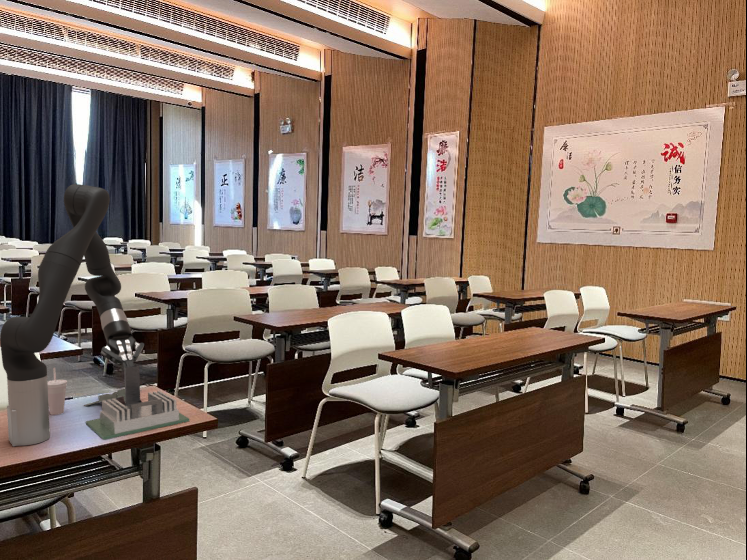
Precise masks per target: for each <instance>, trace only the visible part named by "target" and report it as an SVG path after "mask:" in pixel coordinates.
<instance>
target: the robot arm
mask: <svg viewBox="0 0 747 560" xmlns="http://www.w3.org/2000/svg"><path fill="white" fill-rule="evenodd" d="M63 203H64V209H65V211H66V213H67V216H68V219H69V221H70V223H71V225H72V227H73V228H72V229H70V230H68V232H67V233H65V234H63V235H62V236H61V237H59V238H58V239H56V240H55V241H54V242H53V243H52V244H50V245H49V247H48V248H47V249H46V252H45V254H44V255H43V258H42V260H41V262H40V264H39V268H38V271H37V279H38V280H37V281H38V289H39V290H38V291H39V296H38V300H37V303H36V305H35V308H34V309H33V312H32V313H31V315H30V316H28V317H27V316H13V317H10V318H9V319H7V320H6V321H5V322H4V323H3V325H2V326H1V330H0V352H1V363H2V367H3V370H4V371H5V373H6V379H7V380H6V381H7V383H6V385H7V400H8V404H7V405H6V411H7V412H6V413H7V429H8V430H7V433H8V434H7V435H8V441H10V442H9V443H10V444H12V445H11V446H12V447H17V446H18V447H19V446H30V445H36V444H39V443H43V442H45V441H47V440H49V439H50V437H51V428H50V427H51V425H50V411H49V404H48V368H47V365H46V363H44V362H42V361H41V360H40V358H38V357H37V355H36V354H37V353H41V352H42V351H44V350H45V349H47V348H48V346H49V345H50V343H51V342H52V339H53V337H54V333H55V331H56V328H57V325H58V321H59V319H60V315H61V312H62V310H63V306H64V304H65V301H66V299H67V296H68V294H69V292H70V288H71V286H72V284H73V283H74V280H75V278H76V276H77V275H78V271H79V269H80V267H81V264H82V261H83V259H84V261H85V266H86V270H87V272H88V273H89V275H92V276H96V277H91V278H88V279H87V280H86V281H85V284H84V290H85V293H86V295H87V296H88V297H89V300H91V302H93V304H94V305H95V307H96V309H97V312H98V314H99V318H100V323H101V329H102V331H103V334H104V338H105V341H106V346H103V347H102V348H101V352H100V356H103V358H106V359H107V360H109V361H110V362H112V363H113V364H115V365H118V364H119V365H120V364H121V367H122V370H123V371H124V367H129V366H135V364H134V363H135V362H136V361H137V360H138V358H139V357H140V355H141V353H142V351H143V349H144V346H145V343H144V342H140V343H139V342H137V341H136V339H135V338H134V337H133V332H132V330H131V327H130V324H129V321H128V317H127V315H126V314H125V311H124V309H123V306H122V303H121V300H120V299H119V298H118V297H117V296H116V295H118V294H119V293H120V292H121V291H122V282H121V281H120V278H119V277H118V276H117V274H116V273H115V271H114V269H113V266H112V263H111V258H110V253H109V250H108V249H109V248H108V247H107V244H106V243H105V241H104V240H103V238H102V237H101V236H100V235H99V233H97V230H98V229H99V227H100V225H101V224H102V222H103V221H104V218H105V216H106V214H107V212H108V209H109V206H110V194H109V192H108V191H107V190H106V189H105V188H102V187H98V186H92V185H86V184H85V185H84V184H78V183H73V184H71V185H69V186H67V188H66V189H65V192H64V194H63ZM134 349H135V352H134V354H133V353H132V351H133V350H134Z"/></svg>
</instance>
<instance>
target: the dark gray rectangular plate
mask: <svg viewBox="0 0 747 560" xmlns="http://www.w3.org/2000/svg"><path fill="white" fill-rule="evenodd" d="M123 372H124V376H123V377H124V389H125V401H124V405H125V406H127V405H131V404H136V403H141V402H142V400H141V391H140V390H141V387H140V386H141V385H140V384H141V383H140V382H141V379H140V365H138V364H137V365H134V366H129V367H124V370H123Z"/></svg>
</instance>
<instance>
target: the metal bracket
mask: <svg viewBox="0 0 747 560" xmlns="http://www.w3.org/2000/svg"><path fill="white" fill-rule="evenodd" d="M140 392H142V389H140ZM122 397H123V401H124V402H125V388H123V389H119V390H118V389H117V391H114V392H112V393H104V394H101V395H98V398H97V399H98V400H95V401H93V402H90V403H87V404H84V405H83V407H87V406H90V405H94V404H98V403H102V401H103V400H105V401H106V402H107V400H109V399H110V400H111V401H112V399H114V398H115V399H116V400H117V399H119V398H122Z"/></svg>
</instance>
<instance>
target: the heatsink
mask: <svg viewBox="0 0 747 560" xmlns="http://www.w3.org/2000/svg"><path fill="white" fill-rule="evenodd" d="M101 409H102V410H100V411H99V418H95V419H91V420H85V424H86V426H87V427H88V428H90V429H91V430H92V431H93V432H94V433H95V434H96V435H97V436H99V437H100V438H101V439H102V440H103V441H104V440H105V441H106V440H110V439H113V438H119V437H123V436H127V435H128V434H129V435H132V434H133V435H134V434H137V433H142V432H147V431H152V430H156V429H160V428H164V427H165V428H166V427H169V426H173V425H174V424H175V425H178V423H179V424H183V423H182V422H184V423H187V422H190V418H189V417H188V416H186V415H184V414H182V413H181V412H180V410H179V409H178V406H177V399H175V398H174V397H172V396H170V395H168V394H167V393H164V392H163V391H161V390H157V391H155V390H154V391H152V392H151V391H149V392H147V401H143V402H142V401H141V403H136V404H131V405H127V406H125V404H123V403H122V402H120V401H119V400H118V399H117V398H116V399H115V398H114V399H112V400H110V399H109V400H107V401H105V400H103V401H102V402H101Z"/></svg>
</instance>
